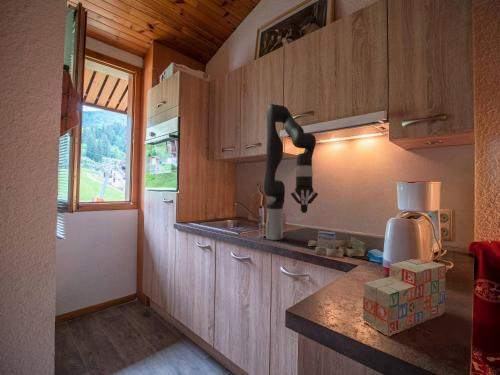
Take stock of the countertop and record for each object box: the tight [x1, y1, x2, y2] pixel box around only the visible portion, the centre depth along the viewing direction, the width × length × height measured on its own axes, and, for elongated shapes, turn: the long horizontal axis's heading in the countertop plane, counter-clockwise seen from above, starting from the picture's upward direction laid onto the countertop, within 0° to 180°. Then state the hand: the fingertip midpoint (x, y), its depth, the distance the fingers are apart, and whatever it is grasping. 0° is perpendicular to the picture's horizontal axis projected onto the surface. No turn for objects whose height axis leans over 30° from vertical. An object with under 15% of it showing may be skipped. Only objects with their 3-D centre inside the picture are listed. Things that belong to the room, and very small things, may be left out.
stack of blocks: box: [362, 257, 446, 334], centre depth 57 cm, size 21×6×12 cm, turn 116°
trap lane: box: [307, 236, 366, 258], centre depth 114 cm, size 22×17×5 cm
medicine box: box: [317, 230, 337, 249], centre depth 116 cm, size 8×4×9 cm, turn 62°
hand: (304, 212), depth 115 cm, fingers closed
